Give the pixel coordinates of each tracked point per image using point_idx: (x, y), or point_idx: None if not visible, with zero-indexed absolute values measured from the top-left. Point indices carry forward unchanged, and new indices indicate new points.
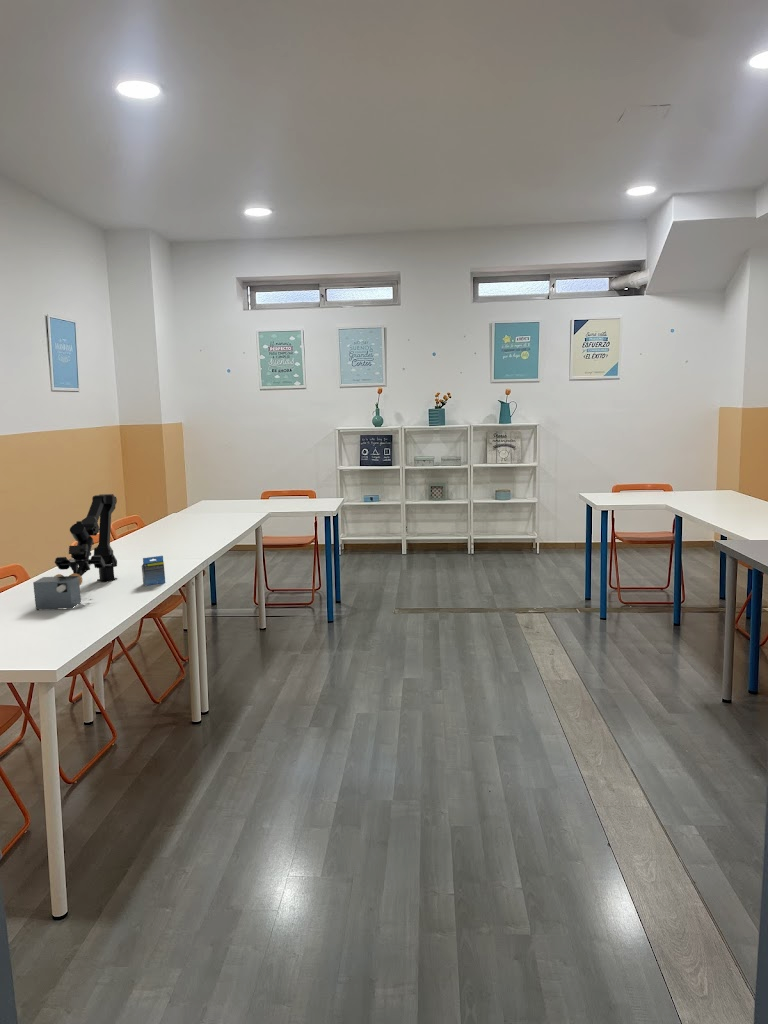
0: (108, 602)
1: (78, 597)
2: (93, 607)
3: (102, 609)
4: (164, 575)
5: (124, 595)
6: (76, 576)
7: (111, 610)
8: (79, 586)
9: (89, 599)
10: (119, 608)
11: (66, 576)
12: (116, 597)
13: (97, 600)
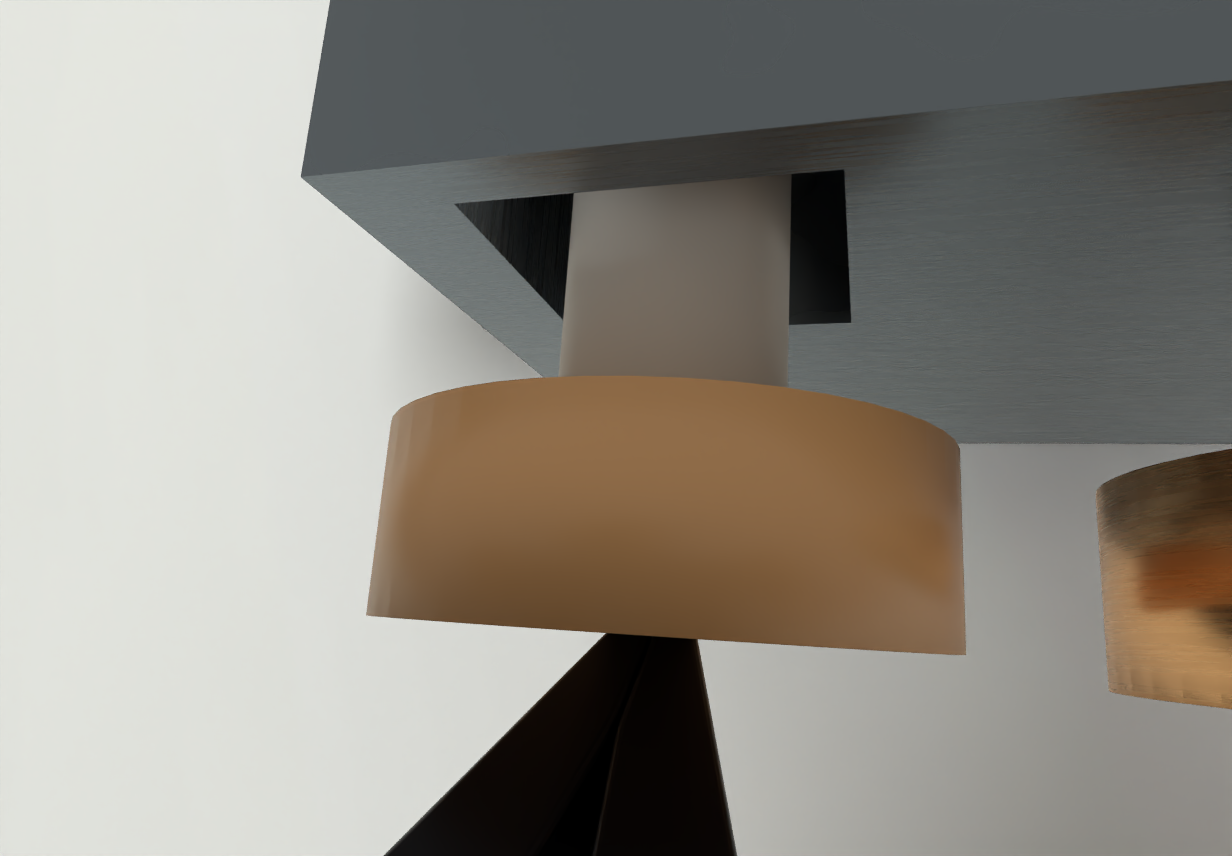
0: (202, 406)
1: None
2: None
3: (229, 64)
4: None
5: (22, 830)
6: (360, 78)
7: (128, 27)
8: (493, 322)
9: (538, 669)
10: (54, 108)
11: (829, 85)
12: (123, 713)
13: None
